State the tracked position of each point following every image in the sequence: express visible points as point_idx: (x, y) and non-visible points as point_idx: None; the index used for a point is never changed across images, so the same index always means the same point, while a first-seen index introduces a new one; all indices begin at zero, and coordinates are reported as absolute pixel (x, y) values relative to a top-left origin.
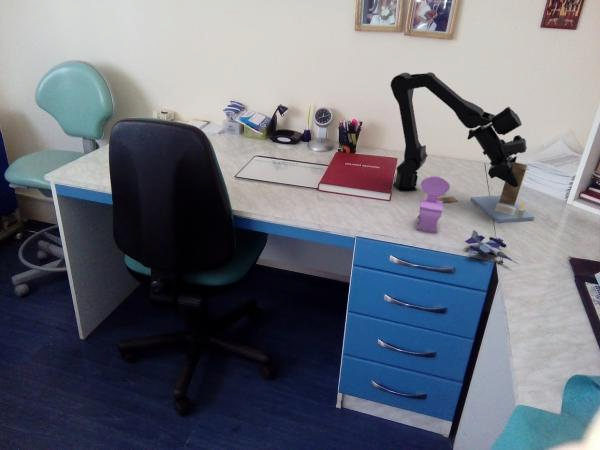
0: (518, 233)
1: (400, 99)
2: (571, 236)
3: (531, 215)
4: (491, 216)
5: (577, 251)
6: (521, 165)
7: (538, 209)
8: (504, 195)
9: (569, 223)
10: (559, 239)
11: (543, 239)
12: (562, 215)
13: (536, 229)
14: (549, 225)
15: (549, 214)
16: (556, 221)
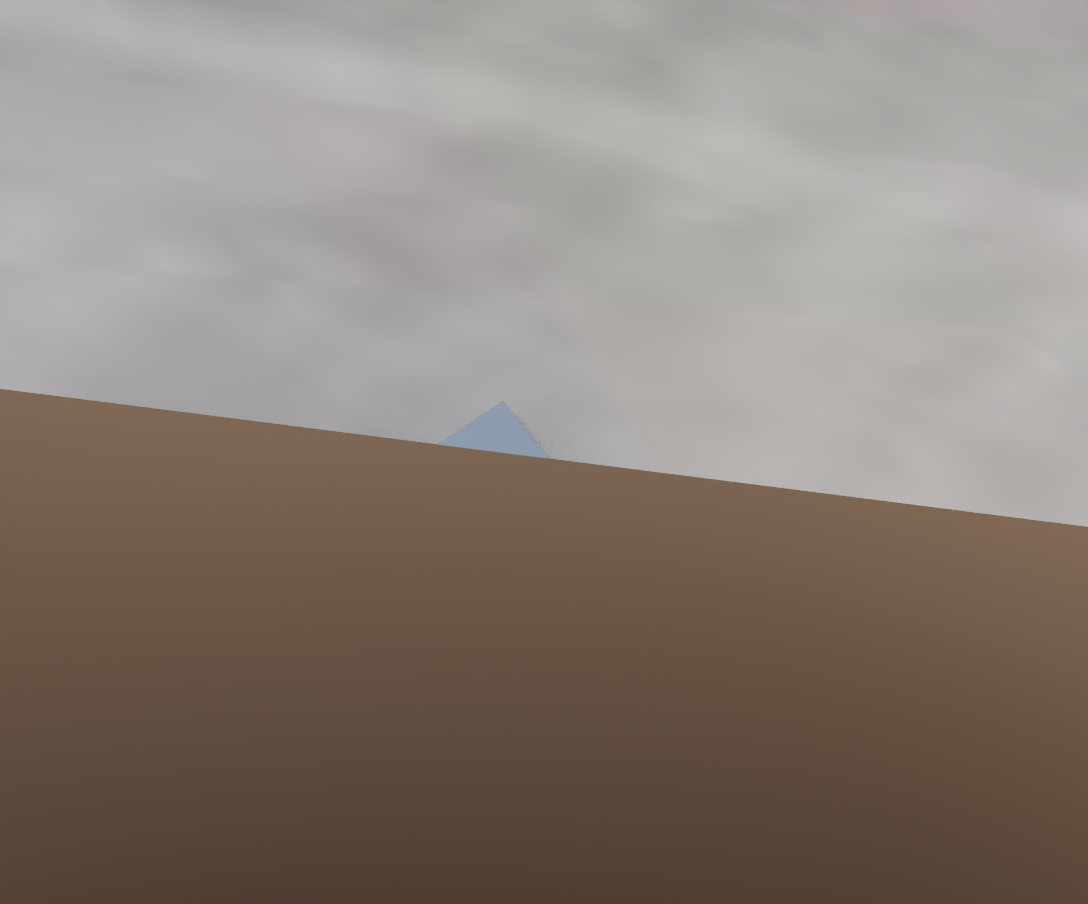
0: None
1: None
2: (732, 31)
3: (473, 441)
4: None
5: (1071, 24)
6: (278, 866)
7: (40, 332)
8: None
9: (357, 5)
10: (900, 159)
11: (1025, 329)
12: (127, 50)
13: (785, 395)
14: (556, 231)
15: (169, 201)
16: (374, 139)
